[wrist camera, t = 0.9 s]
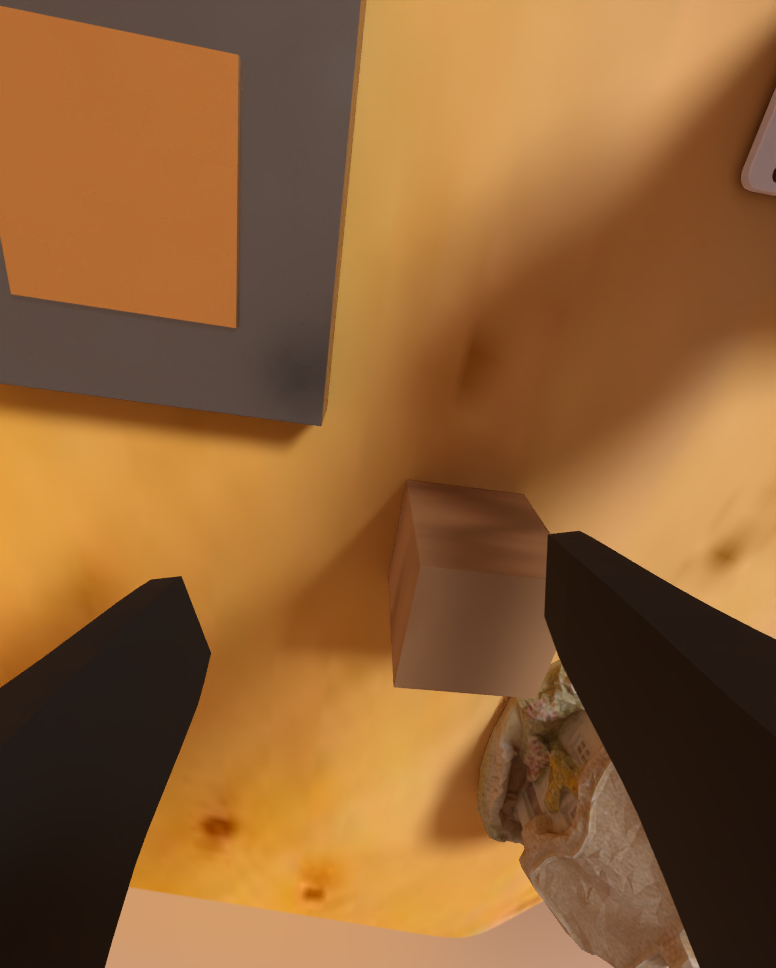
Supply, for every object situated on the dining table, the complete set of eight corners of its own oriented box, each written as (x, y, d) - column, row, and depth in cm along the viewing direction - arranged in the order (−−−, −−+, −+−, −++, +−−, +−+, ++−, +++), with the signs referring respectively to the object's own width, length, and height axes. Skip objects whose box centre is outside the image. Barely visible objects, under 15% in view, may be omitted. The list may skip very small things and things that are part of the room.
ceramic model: (560, 617, 22) (689, 857, 13) (741, 671, 24) (960, 912, 15) (442, 785, 28) (476, 1036, 19) (598, 818, 30) (696, 1059, 21)
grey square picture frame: (368, -24, 12) (367, -82, 10) (326, 409, 17) (320, 428, 15) (-123, -136, 11) (-232, -225, 9) (-13, 363, 16) (-67, 376, 14)
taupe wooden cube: (523, 493, 19) (583, 583, 14) (493, 588, 21) (535, 698, 16) (406, 479, 19) (420, 565, 13) (388, 577, 21) (393, 686, 15)
